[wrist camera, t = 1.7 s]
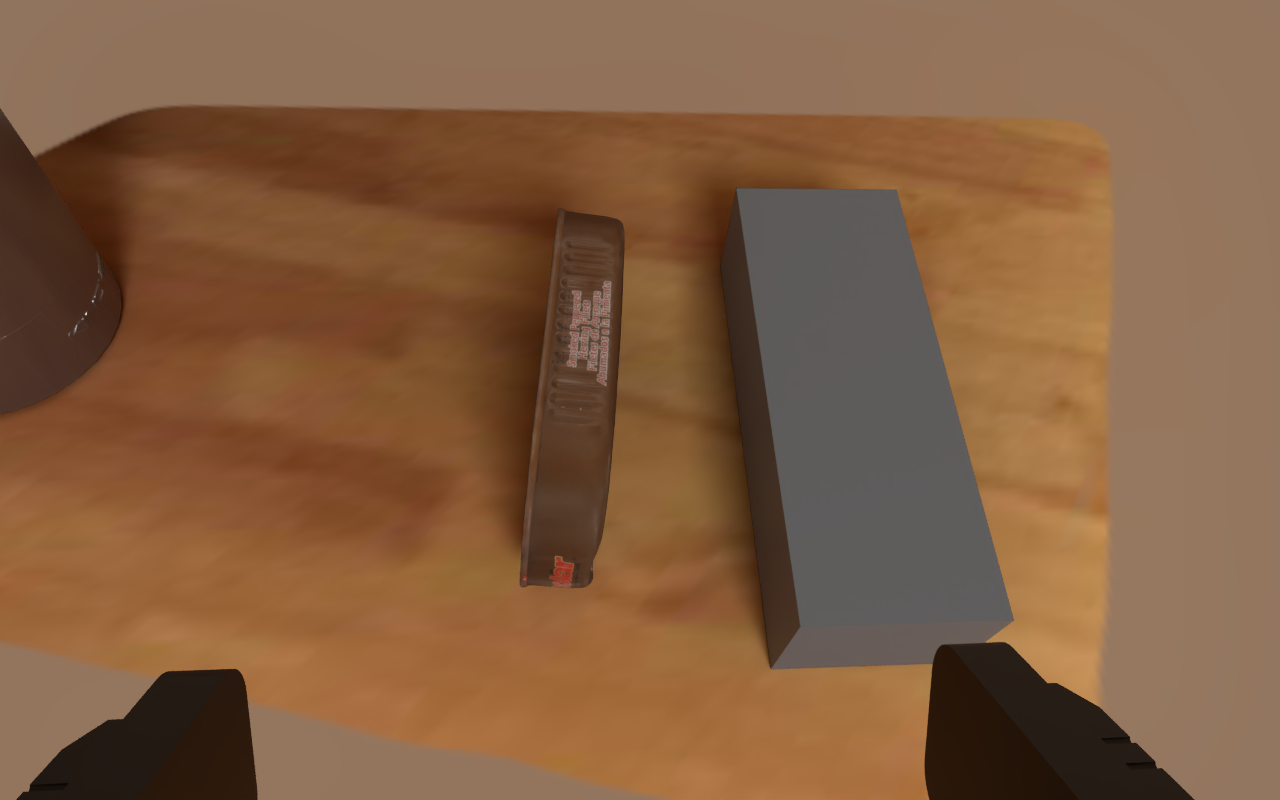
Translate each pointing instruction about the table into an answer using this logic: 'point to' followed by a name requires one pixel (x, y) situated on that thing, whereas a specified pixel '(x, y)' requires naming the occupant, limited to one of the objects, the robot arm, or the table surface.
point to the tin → (574, 404)
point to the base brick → (851, 437)
